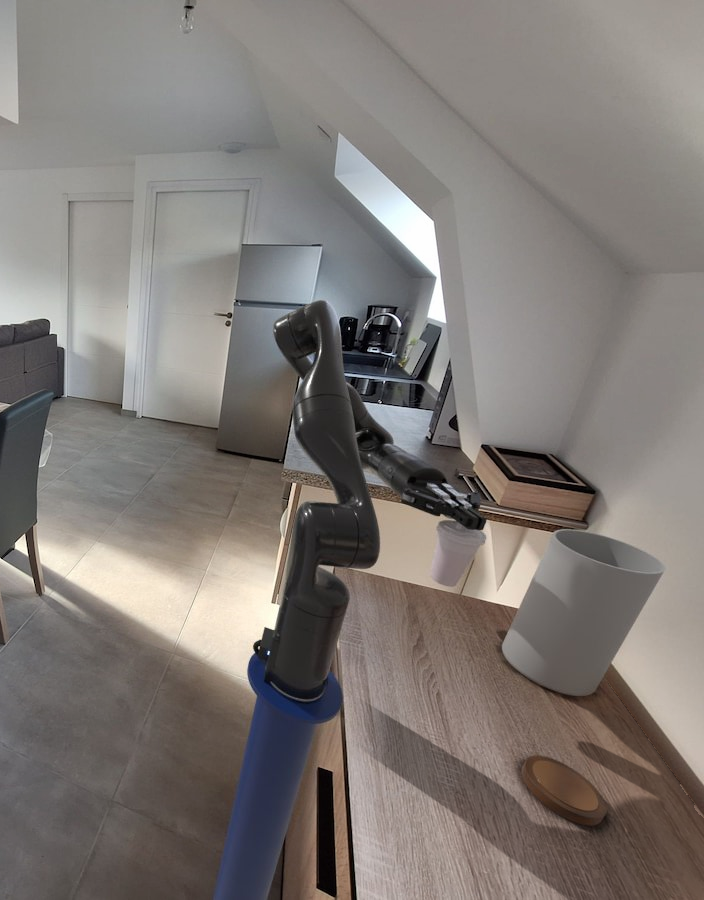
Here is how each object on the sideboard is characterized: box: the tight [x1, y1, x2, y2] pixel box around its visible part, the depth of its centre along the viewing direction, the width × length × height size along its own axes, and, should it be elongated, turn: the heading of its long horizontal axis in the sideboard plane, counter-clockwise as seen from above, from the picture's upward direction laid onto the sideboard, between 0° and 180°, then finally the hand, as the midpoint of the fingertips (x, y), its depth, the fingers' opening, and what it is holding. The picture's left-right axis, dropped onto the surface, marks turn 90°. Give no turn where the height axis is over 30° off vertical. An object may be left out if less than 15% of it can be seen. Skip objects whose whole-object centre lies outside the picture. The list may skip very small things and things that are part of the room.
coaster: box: [520, 755, 608, 827], centre depth 61 cm, size 8×8×2 cm
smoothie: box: [429, 504, 487, 588], centre depth 73 cm, size 6×6×14 cm
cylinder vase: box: [501, 528, 666, 697], centre depth 77 cm, size 12×12×25 cm
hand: (478, 524), depth 68 cm, fingers closed on smoothie, 1 cm apart
